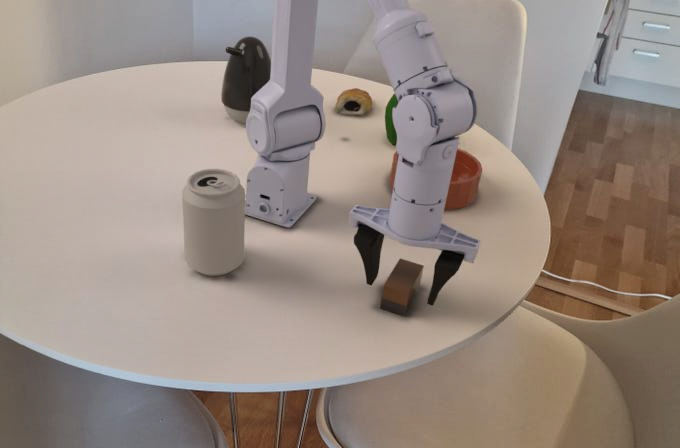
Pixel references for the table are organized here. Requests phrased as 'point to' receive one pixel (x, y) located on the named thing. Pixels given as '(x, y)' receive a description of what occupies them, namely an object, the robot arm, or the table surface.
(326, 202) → the table surface
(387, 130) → the bell pepper
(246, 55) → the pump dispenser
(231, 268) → the can
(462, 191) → the bowl
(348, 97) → the pastry
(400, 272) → the eraser
